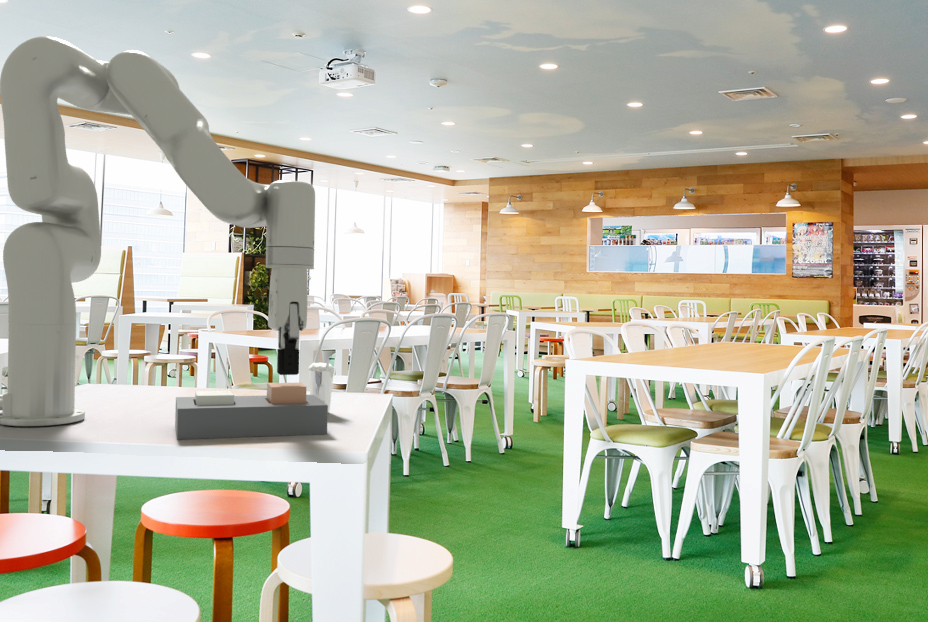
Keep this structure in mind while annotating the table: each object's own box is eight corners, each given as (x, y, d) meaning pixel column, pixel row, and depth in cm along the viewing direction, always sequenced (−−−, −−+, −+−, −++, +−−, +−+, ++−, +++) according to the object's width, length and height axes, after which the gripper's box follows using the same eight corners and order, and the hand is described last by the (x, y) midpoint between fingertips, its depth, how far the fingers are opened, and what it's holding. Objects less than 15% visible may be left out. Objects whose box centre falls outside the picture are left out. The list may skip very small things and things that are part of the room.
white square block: (196, 422, 119) (197, 395, 119) (194, 416, 124) (195, 391, 124) (233, 421, 121) (234, 395, 121) (230, 415, 126) (231, 390, 126)
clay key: (271, 412, 123) (271, 387, 123) (266, 407, 128) (267, 383, 128) (305, 411, 125) (306, 386, 125) (300, 406, 130) (300, 382, 130)
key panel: (177, 439, 115) (177, 408, 115) (175, 425, 126) (175, 397, 126) (327, 433, 123) (327, 405, 123) (312, 420, 134) (313, 394, 134)
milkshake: (315, 416, 140) (316, 359, 139) (303, 411, 144) (305, 356, 144) (338, 414, 142) (340, 359, 142) (326, 410, 146) (328, 356, 146)
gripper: (260, 259, 132) (258, 369, 132) (272, 257, 118) (270, 380, 118) (305, 261, 134) (303, 369, 135) (322, 259, 121) (320, 379, 121)
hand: (287, 373), depth 127 cm, fingers closed
